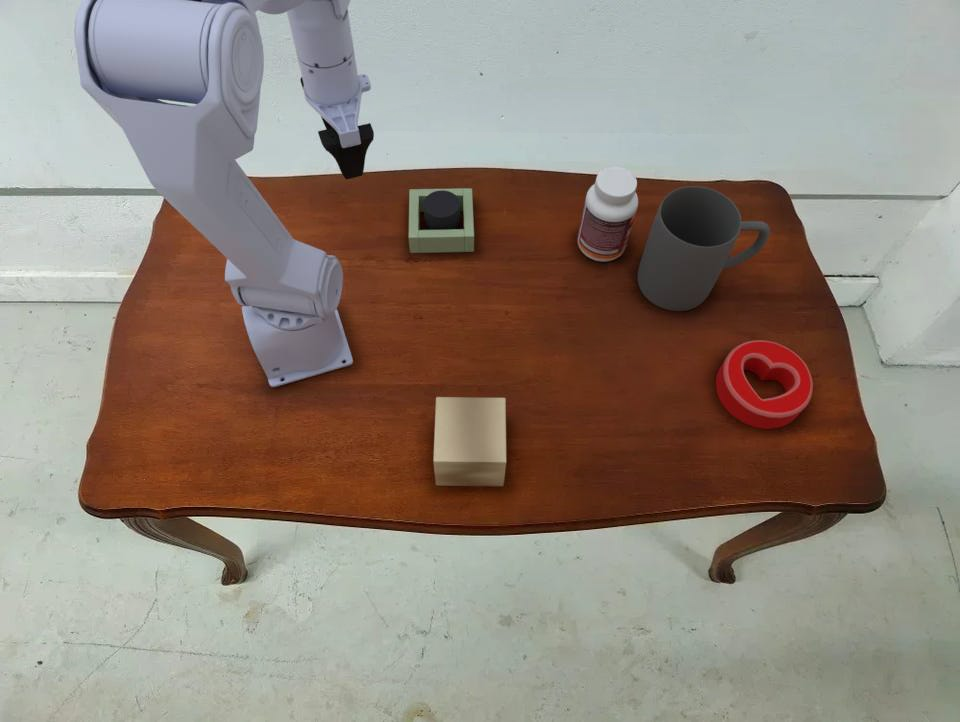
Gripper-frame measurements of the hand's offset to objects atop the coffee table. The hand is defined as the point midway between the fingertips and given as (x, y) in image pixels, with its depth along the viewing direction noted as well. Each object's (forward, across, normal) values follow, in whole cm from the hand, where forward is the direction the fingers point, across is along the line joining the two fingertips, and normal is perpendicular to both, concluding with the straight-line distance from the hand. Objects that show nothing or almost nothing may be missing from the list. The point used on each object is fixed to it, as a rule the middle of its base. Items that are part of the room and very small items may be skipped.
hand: (345, 153), depth 83 cm
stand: (+10, -37, -3) cm, 38 cm away
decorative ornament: (+11, -40, -36) cm, 55 cm away
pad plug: (+10, -6, -10) cm, 15 cm away
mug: (+11, -24, -36) cm, 44 cm away
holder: (+10, -6, -10) cm, 15 cm away
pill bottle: (+11, -15, -28) cm, 33 cm away
